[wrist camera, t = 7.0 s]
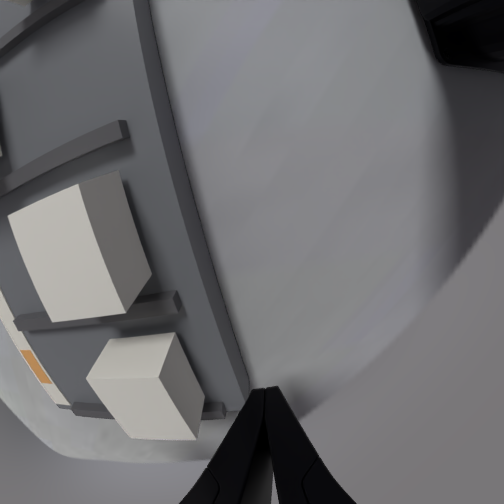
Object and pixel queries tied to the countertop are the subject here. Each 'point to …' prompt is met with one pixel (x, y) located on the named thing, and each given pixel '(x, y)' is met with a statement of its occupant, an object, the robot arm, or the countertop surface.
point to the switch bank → (94, 165)
